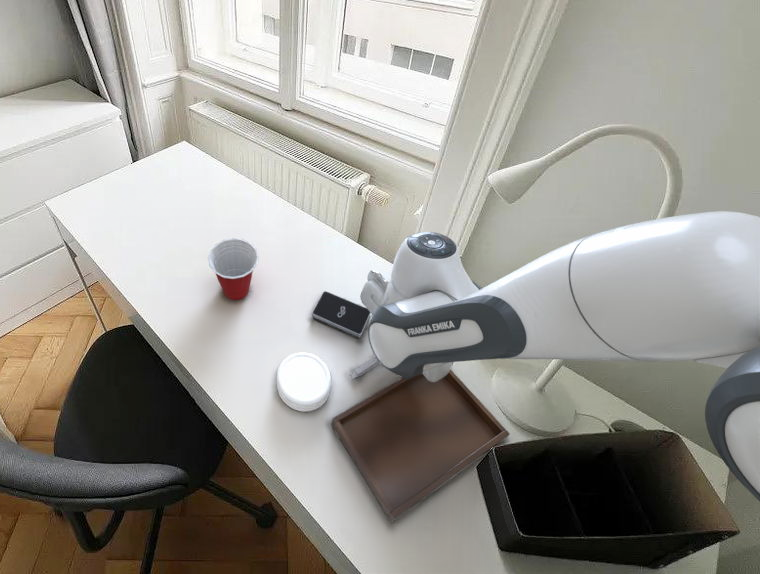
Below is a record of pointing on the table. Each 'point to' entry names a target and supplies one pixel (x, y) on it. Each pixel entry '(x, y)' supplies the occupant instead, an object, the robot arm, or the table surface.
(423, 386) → the tray
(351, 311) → the external hard drive
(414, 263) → the robot arm
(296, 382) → the white round container
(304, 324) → the table surface
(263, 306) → the table surface
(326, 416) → the table surface
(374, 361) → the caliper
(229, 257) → the plastic cup
